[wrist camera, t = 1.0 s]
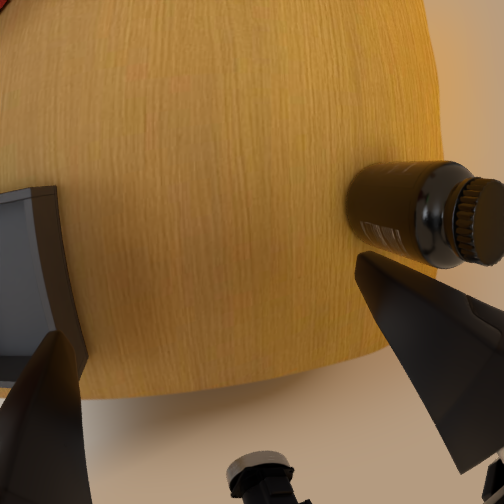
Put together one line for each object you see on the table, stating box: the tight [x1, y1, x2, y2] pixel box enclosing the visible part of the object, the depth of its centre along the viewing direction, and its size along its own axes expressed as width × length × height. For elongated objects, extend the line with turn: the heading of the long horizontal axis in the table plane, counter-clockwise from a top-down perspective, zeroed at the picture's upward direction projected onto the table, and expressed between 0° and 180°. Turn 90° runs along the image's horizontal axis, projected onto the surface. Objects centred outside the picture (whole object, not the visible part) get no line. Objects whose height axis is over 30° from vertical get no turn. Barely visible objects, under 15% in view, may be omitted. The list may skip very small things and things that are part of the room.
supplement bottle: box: [346, 161, 504, 269], centre depth 19 cm, size 7×7×12 cm
